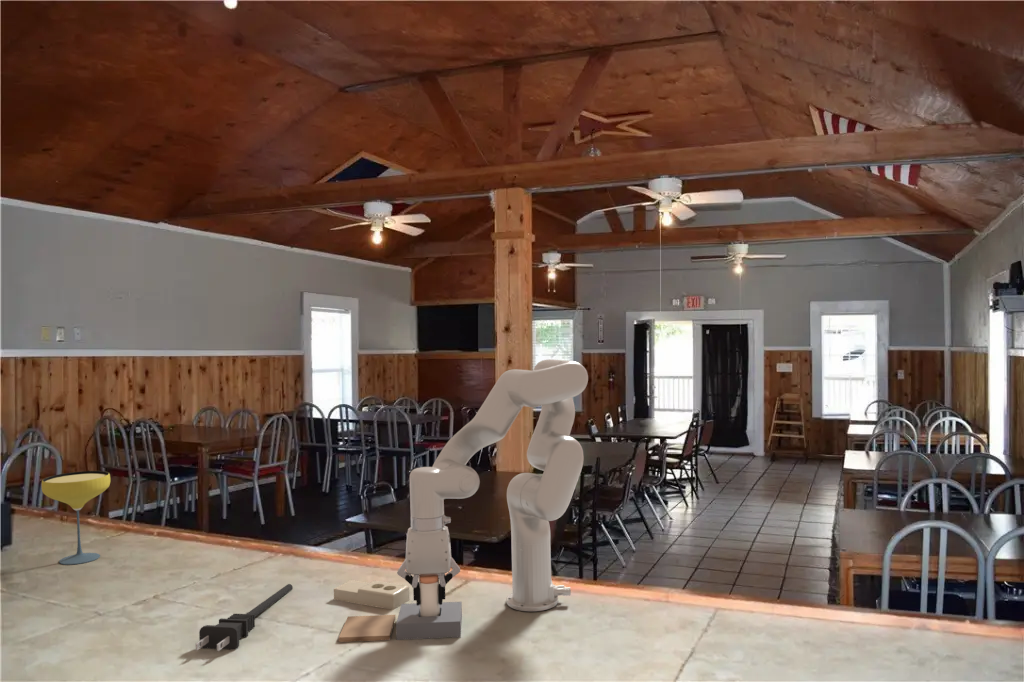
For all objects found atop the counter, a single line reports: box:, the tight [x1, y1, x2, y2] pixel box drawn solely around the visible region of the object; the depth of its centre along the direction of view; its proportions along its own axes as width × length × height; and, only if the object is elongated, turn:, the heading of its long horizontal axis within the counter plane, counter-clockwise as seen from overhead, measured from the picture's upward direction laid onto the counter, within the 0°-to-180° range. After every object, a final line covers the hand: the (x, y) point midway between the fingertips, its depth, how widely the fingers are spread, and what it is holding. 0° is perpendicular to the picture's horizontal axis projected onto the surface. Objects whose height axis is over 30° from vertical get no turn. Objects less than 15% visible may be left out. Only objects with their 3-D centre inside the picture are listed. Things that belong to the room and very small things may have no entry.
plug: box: [418, 574, 440, 617], centre depth 178 cm, size 4×4×12 cm
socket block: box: [395, 601, 463, 641], centre depth 178 cm, size 14×12×4 cm
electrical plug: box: [195, 583, 293, 652], centre depth 186 cm, size 9×42×5 cm, turn 172°
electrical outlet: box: [333, 579, 411, 611], centre depth 197 cm, size 7×4×18 cm
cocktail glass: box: [41, 470, 111, 566], centre depth 236 cm, size 18×18×25 cm
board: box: [338, 614, 396, 643], centre depth 178 cm, size 11×12×1 cm
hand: (429, 602), depth 178 cm, fingers closed on plug, 4 cm apart
